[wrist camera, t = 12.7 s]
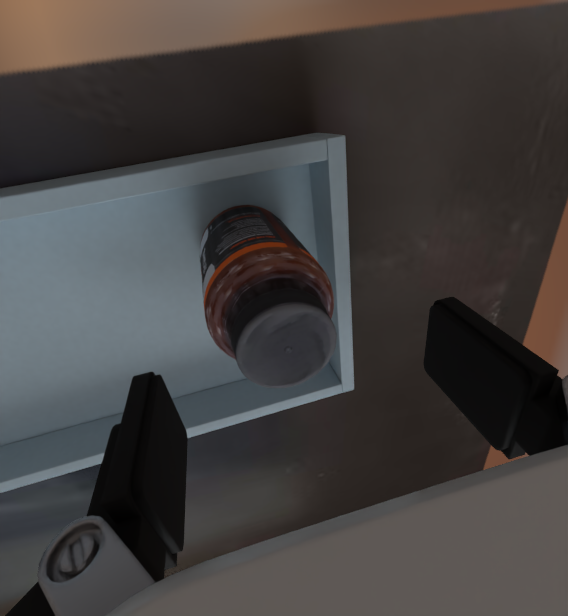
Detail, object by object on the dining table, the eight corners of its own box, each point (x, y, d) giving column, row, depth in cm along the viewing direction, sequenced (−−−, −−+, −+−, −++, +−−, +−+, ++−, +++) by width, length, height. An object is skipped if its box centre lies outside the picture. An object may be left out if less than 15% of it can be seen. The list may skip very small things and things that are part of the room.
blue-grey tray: (317, 132, 20) (345, 134, 16) (334, 356, 29) (354, 389, 26) (-363, 252, 16) (-532, 293, 12) (-87, 472, 25) (-134, 532, 21)
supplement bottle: (178, 249, 21) (167, 360, 11) (245, 181, 20) (296, 239, 10) (245, 304, 24) (281, 428, 14) (306, 247, 23) (388, 339, 13)
